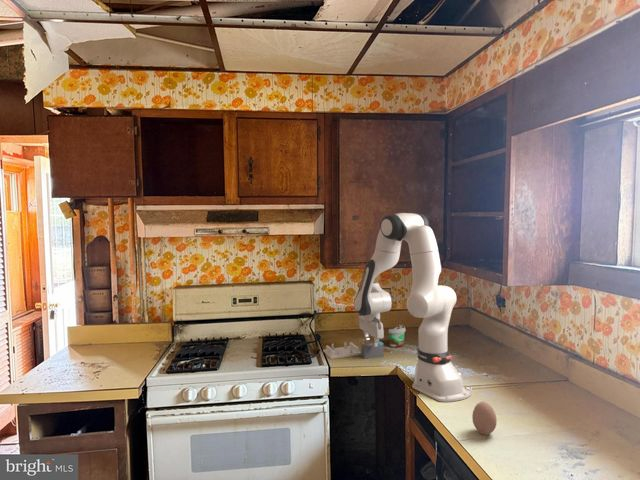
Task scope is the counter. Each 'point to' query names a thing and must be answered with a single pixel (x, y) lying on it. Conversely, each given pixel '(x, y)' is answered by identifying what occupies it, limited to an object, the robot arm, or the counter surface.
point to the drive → (372, 350)
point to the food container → (397, 336)
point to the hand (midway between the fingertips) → (371, 343)
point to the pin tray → (342, 351)
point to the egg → (484, 418)
